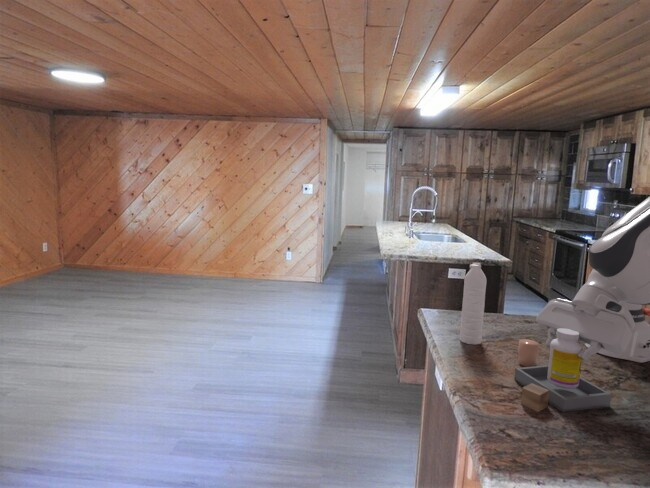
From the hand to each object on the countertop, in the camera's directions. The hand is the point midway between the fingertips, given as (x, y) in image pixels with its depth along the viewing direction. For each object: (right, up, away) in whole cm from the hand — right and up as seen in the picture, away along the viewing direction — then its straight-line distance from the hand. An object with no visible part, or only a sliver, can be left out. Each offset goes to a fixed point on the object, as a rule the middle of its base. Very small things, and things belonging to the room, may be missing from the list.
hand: (564, 352), depth 101 cm
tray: (0, -10, +2) cm, 10 cm away
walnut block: (-9, -11, -4) cm, 15 cm away
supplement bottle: (0, -8, +1) cm, 8 cm away
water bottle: (-11, -5, +33) cm, 35 cm away
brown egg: (0, -8, +19) cm, 20 cm away
